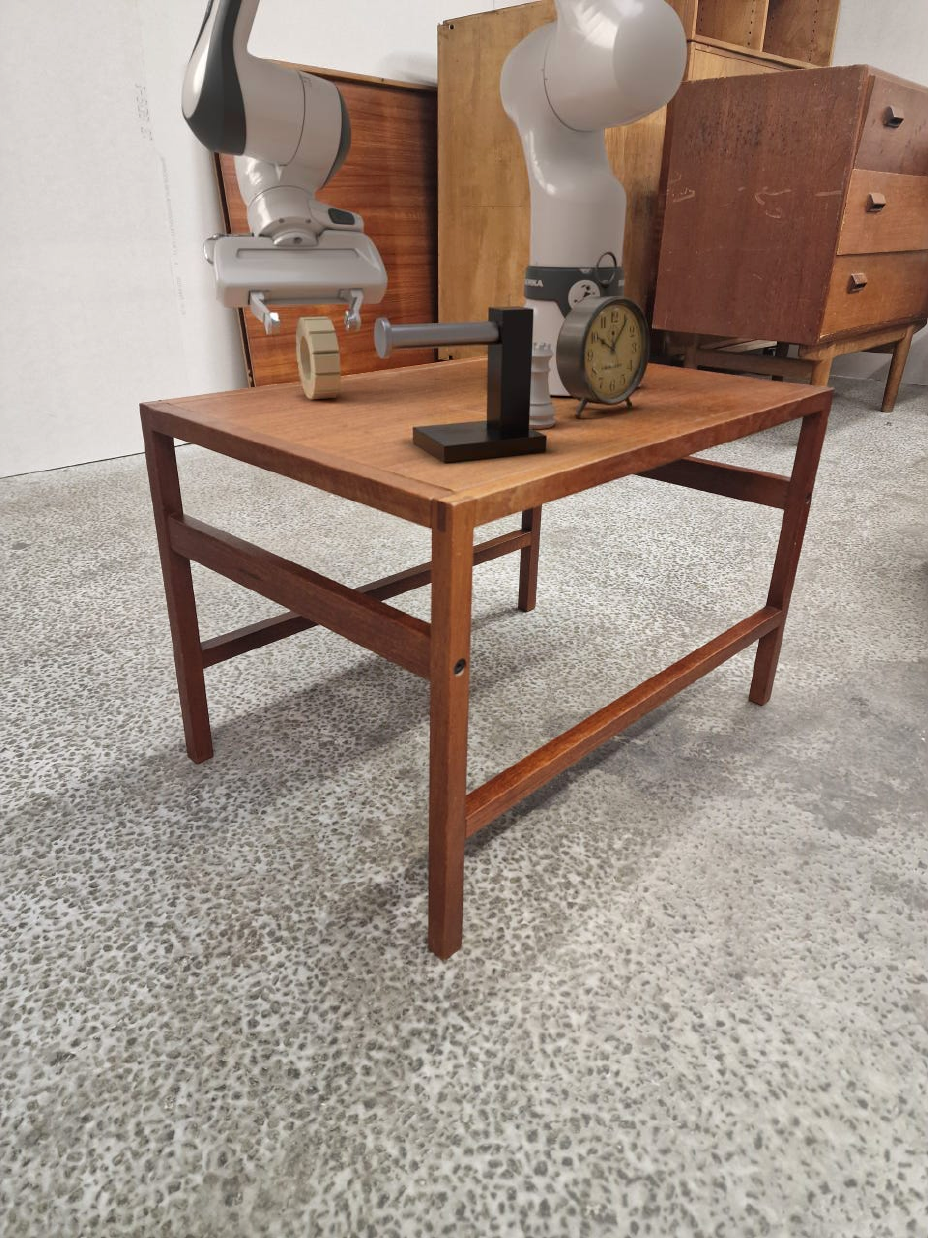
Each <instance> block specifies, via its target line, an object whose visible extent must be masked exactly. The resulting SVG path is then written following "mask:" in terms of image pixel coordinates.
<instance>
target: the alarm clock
mask: <svg viewBox="0 0 928 1238" xmlns="http://www.w3.org/2000/svg"><path fill="white" fill-rule="evenodd" d="M606 254H609V255H610V256H611V257H612V258H613V262H614V272H613V276H612V278H611V279H610V281H608V280H603V281H600V280H599V277H598V267H599V263H600V261H601V259H602V257H603V256H605V255H606ZM616 271H617V261H616V257H615V255H614V254H613V253H612V252H611V251H605V252H603V253H602V254H601V255H600V257H599V258H598V260H597V263H596V267H595V276H596V279H597V281H598V283H599V284H600V286H601V293H600V296H595V297H590V298H587V299H584V300H583V301H581V302H579V303H578V304H577V305H576V306H575V307H574V308H573V309H572V310H571V311H570V312H569V314H568V315H567V317H566V318H565V320H564V322H563V324H562V326H561V329H560V332H559V335H558V340H557V345H556V365H557V370H558V374H559V377H560V380H561V382H562V384H563V386H564V388H565V389H566V390H567V392H568V393H569V394H570V395H571V397H572V398H573V399H575V400H576V401H578V402H579V404H578V407H577V411H576V412H575V413H574V418H575V419H580V418H581V416H582V414H581V413H583V411H584V410H585V408H586V406H587V404H588V403H589V404H595V405H604V406H609V407H610V406H616V405H620V404H621V403H622V404H623V402H625V403H626V406H627V407H628V408H632V407H633V402H632V401H631V399H630V398H631V396H633V394H634V392H636V390H637V389H638V386H639V384H640V382H641V383H642V380H643V379H644V377H645V373H646V371H647V367H648V365H649V364H648V363H649V359H650V351H651V336H650V329H649V324H648V321H647V318H646V316H645V313H644V312H643V310H642V308H641V307H640V305H639V304H638V303H637V302H636V301H634V300H633V299H631V298H630V297H628V296H624V295H623V296H609V289H608V287H609V285H610V283H611V282H612V281H613V280H614V278H615V275H616ZM639 387H640V386H639Z"/></svg>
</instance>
